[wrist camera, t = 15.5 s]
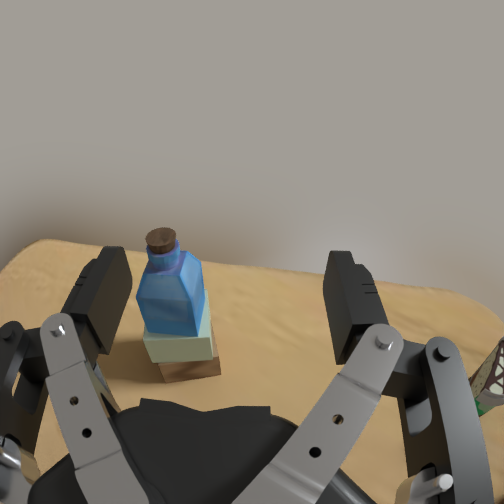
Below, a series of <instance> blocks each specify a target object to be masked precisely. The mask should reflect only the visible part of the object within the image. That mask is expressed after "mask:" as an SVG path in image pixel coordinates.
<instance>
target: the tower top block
mask: <svg viewBox="0 0 504 504" xmlns="http://www.w3.org/2000/svg"><path fill="white" fill-rule="evenodd" d="M204 291H205V303H204V308H203V314H202V319H201V324H200V329H199V335H198V337H194V336H181V335H170V334H160V333H150V332H148V330H147V328H146V325H145V327H144V336H143V342H144V344H145V347H146V349H147V351H148V354H149V356H150V359H151V361H152V363H165V362H187V361H203V360H213V351H212V337H211V321H210V309H209V301H208V293H207V289H204Z"/></svg>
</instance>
